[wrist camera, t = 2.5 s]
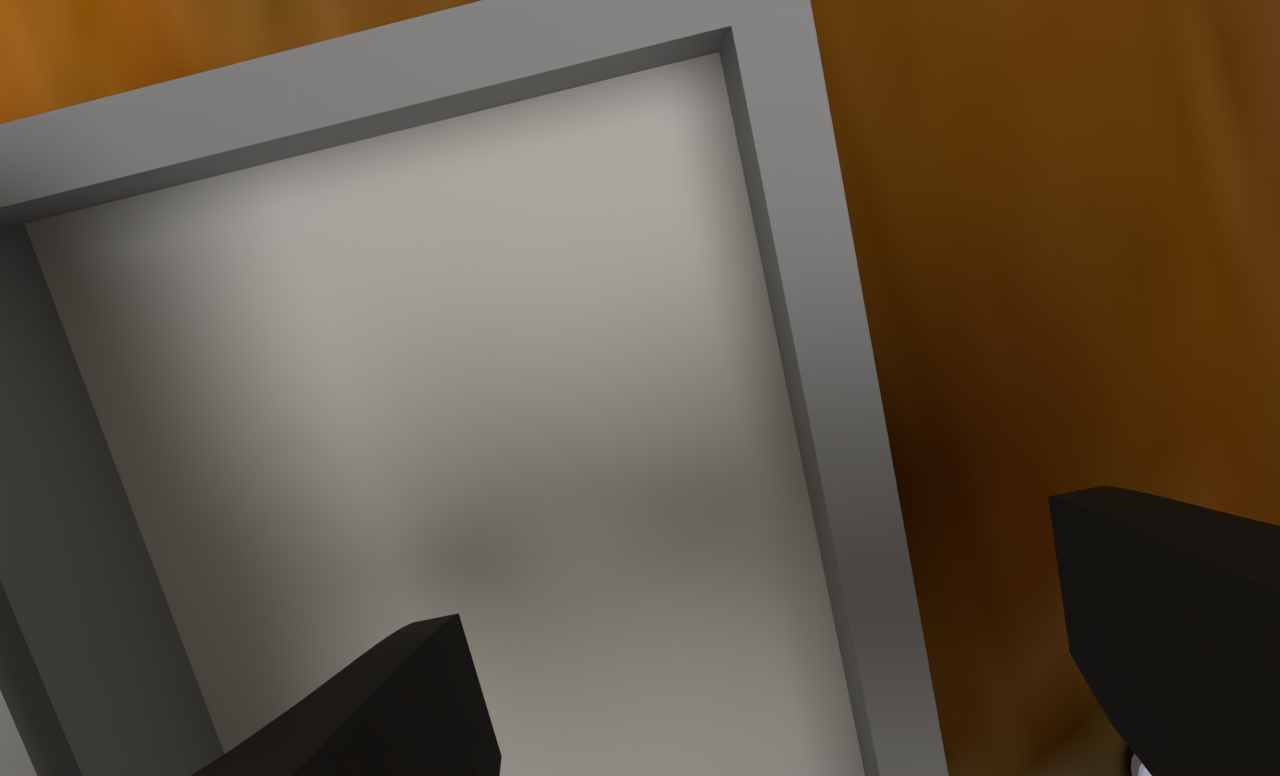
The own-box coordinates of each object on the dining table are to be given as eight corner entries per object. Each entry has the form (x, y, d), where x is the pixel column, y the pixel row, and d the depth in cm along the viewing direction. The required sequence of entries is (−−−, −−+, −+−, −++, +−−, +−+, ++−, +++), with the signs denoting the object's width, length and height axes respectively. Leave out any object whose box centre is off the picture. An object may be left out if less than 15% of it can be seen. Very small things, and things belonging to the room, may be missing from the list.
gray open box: (766, -24, 15) (795, -81, 12) (923, 815, 19) (985, 986, 15) (-28, 177, 17) (-241, 186, 13) (263, 929, 20) (165, 1113, 16)
